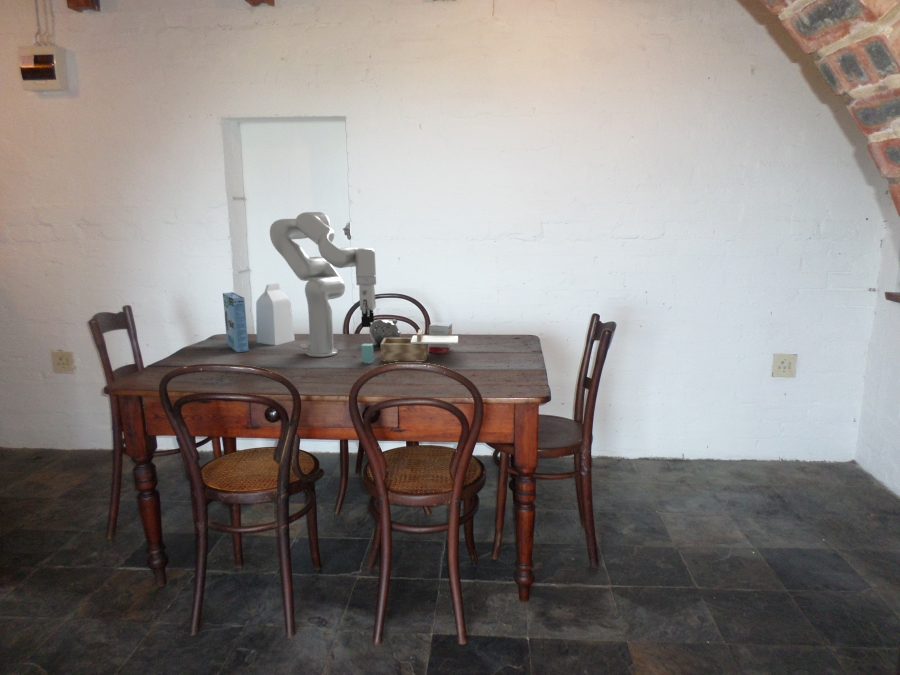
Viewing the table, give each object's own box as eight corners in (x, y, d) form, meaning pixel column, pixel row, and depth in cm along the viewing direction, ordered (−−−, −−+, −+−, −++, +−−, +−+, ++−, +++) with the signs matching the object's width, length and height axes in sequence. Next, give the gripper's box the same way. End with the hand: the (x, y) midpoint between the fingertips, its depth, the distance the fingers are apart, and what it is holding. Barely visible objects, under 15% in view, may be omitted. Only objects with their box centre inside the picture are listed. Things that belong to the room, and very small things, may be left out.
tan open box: (380, 361, 249) (380, 344, 248) (384, 354, 261) (384, 337, 259) (426, 361, 249) (426, 344, 247) (427, 354, 260) (427, 338, 259)
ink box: (448, 353, 262) (448, 325, 260) (428, 352, 264) (428, 325, 262) (452, 349, 271) (452, 322, 268) (433, 348, 272) (432, 321, 270)
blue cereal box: (248, 351, 265) (245, 297, 260) (236, 352, 262) (232, 298, 258) (237, 342, 281) (234, 291, 276) (225, 344, 279) (222, 292, 274)
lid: (410, 343, 247) (410, 335, 246) (413, 337, 259) (412, 328, 259) (457, 344, 247) (457, 335, 246) (458, 337, 259) (458, 329, 258)
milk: (275, 345, 276) (272, 286, 271) (256, 342, 282) (253, 284, 277) (294, 340, 287) (291, 283, 281) (276, 337, 292) (273, 281, 287)
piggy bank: (396, 349, 270) (395, 322, 268) (363, 346, 274) (363, 320, 272) (404, 343, 281) (404, 318, 278) (373, 341, 285) (373, 316, 282)
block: (361, 363, 246) (361, 345, 245) (363, 360, 250) (363, 343, 249) (372, 363, 246) (371, 345, 245) (373, 360, 250) (373, 343, 249)
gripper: (372, 283, 233) (374, 328, 236) (378, 278, 250) (380, 320, 253) (352, 283, 233) (354, 328, 236) (360, 278, 250) (361, 321, 253)
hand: (367, 324), depth 245 cm, fingers open, 9 cm apart
